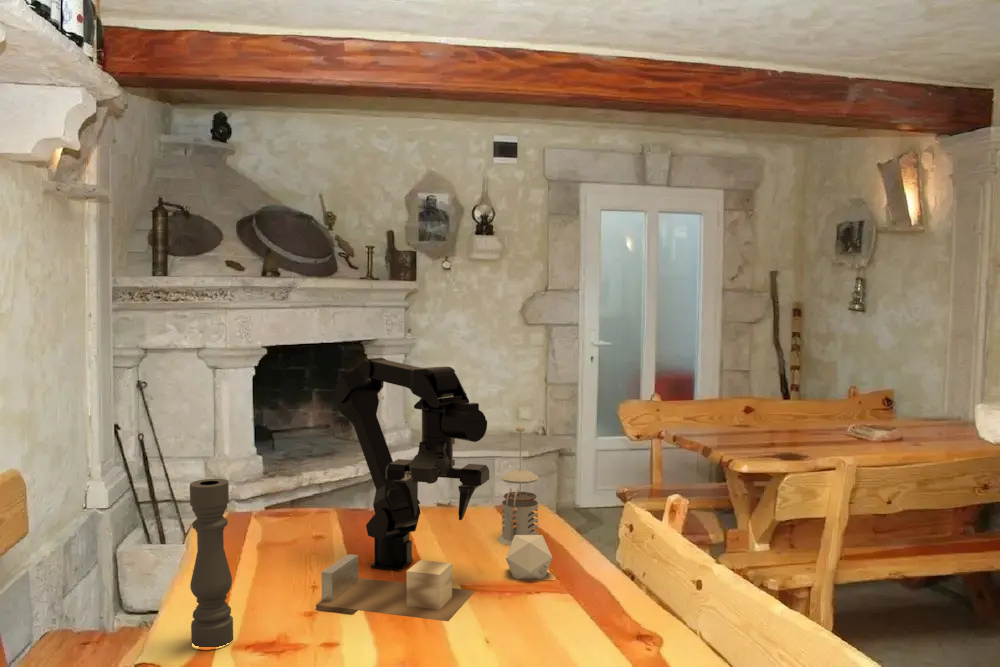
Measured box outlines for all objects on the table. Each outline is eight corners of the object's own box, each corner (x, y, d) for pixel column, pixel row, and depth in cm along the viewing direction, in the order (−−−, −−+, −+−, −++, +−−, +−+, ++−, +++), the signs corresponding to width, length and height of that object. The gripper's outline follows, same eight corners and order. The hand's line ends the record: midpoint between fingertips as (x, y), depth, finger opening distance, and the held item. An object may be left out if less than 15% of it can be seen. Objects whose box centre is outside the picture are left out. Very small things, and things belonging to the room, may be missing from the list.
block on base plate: (316, 609, 142) (315, 575, 142) (353, 581, 155) (353, 550, 155) (448, 625, 135) (448, 590, 135) (475, 595, 148) (475, 563, 148)
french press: (547, 535, 184) (548, 423, 183) (532, 551, 173) (533, 432, 172) (505, 531, 187) (505, 421, 186) (488, 546, 176) (488, 429, 175)
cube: (406, 605, 141) (406, 571, 141) (420, 593, 147) (419, 559, 147) (439, 609, 140) (439, 574, 139) (452, 596, 145) (451, 563, 145)
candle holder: (197, 634, 132) (194, 478, 131) (237, 632, 133) (234, 477, 131) (186, 651, 126) (182, 488, 124) (228, 649, 126) (225, 487, 125)
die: (537, 594, 151) (564, 546, 153) (494, 568, 152) (522, 520, 155) (534, 594, 159) (560, 548, 162) (494, 569, 160) (521, 524, 163)
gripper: (372, 439, 149) (373, 525, 150) (471, 445, 144) (471, 534, 145) (397, 429, 160) (398, 509, 161) (490, 434, 155) (490, 517, 155)
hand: (437, 517), depth 155 cm, fingers open, 9 cm apart
